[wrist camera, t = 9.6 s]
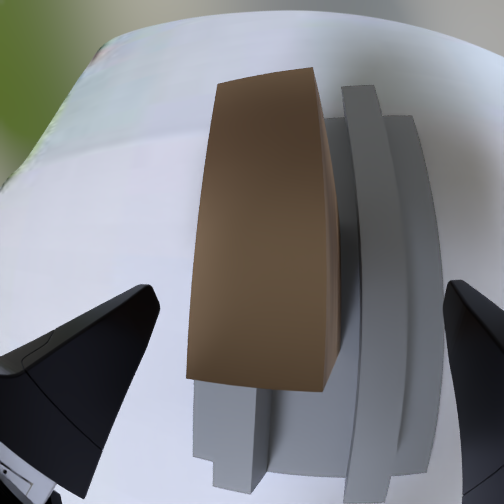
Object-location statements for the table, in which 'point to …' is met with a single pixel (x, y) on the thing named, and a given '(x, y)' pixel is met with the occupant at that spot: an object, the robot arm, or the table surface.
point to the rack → (353, 333)
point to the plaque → (267, 240)
